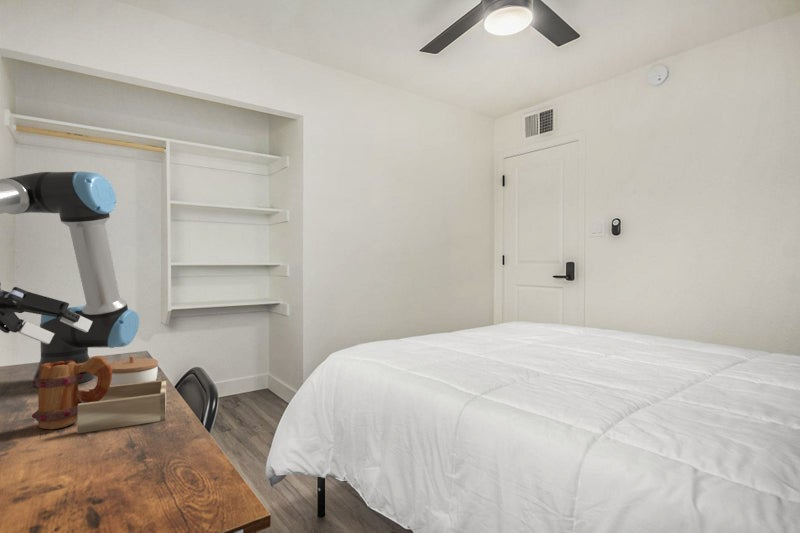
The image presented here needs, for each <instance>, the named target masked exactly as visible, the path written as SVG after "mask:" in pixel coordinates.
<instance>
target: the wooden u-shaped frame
mask: <svg viewBox="0 0 800 533" xmlns="http://www.w3.org/2000/svg"><path fill="white" fill-rule="evenodd" d="M95 387H96V386H95ZM95 387H90V388H89V389H88V391H91V390H93V389H94V388H95ZM166 411H167V379H158V380H157V379H156V381H147V382H138V383H130V384H121V385H112V386H110V387H109V389H108V391H107V392H106V394H105V395H104V396H103V398H102V399H101V400H100V401H97V402H89V403H87V402H81V404H78V420H77V434H83V433H90V432H95V431H96V432H97V431H103V430H109V429H117V428H122V427H128V426H135V425H141V424H142V425H143V424H150V423H156V422H161V421H165V420H166Z"/></svg>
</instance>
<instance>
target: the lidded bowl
mask: <svg viewBox="0 0 800 533" xmlns="http://www.w3.org/2000/svg"><path fill="white" fill-rule="evenodd" d="M109 365H110V367H111V369H112V381H111V384H110V386H112V385H121V384H130V383H138V382H147V381H156V380H157V378H158V372H159V371H158V368H159V367H158V366H159V361H158V359H155V358H146V357H145V358H135V355H130V356H129V359H124V360H118V361H114V362H110V363H109Z"/></svg>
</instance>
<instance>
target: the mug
mask: <svg viewBox="0 0 800 533" xmlns="http://www.w3.org/2000/svg"><path fill="white" fill-rule="evenodd" d="M89 358H90V359H89V360H88V361H86V362H84V363H79V364H76V363H75V362H74V361H66V362H64V361H59V362H54V363H45V364H41V366H40V371H39V377H38V378H36V379H35V380H34V381H33V380H32V382H31V383H32V385H33V384H35V385H36V386H37V387H36V388H38V391H37V392H38V393H37V394H38V405H37V406H38V409H37V410H36V411H35V412H34V413H32V415H31V418H33V419H35V421H37V422H38V427H39V428H40V429H41V428H42V429H45V430H56V429H57V430H59V429H63V428H65V427H68V426H70V425H73V424H74V423H77V422H78V404H81V403H82V401H83V402H84V403H89V402H97V401H100V400H101V399H102V398H103V396H104V395H105V394H106V392H107V391H108V389H109V387H110V384H111V381H112V369H111V367H110V365H109V364H110V363H109V362H108V360H106V359H105V358H104V357H103V356H100V355H95V356H92V357H89ZM80 372H87V373H90V374H92V375H95V376H96V377H97V382H96V385H95V388H94V387H93V388H94V389H93V390H91V391H89V390H88V391H87V390H82V389H79V383H78V381H79V380H81V379H82V378H83V375H82V374H80Z"/></svg>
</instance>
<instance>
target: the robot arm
mask: <svg viewBox="0 0 800 533" xmlns="http://www.w3.org/2000/svg"><path fill="white" fill-rule="evenodd" d="M116 196H117V195H116V192H115V190H114V187H113V185H112V184H111V183H110V181H109V180H108V179H107V178H106V177H105V176H103V175H101V174H99V173H97V172H91V171H90V172H89V171H88V172H87V171H40V172H34V173H29V174H28V173H27V174H22V175H17V176H12V177H5V178H0V215H1V214H9V215H20V214H24V213H26V214H27V213H39V214H40V213H41V214H42V213H43V214H59V218H60V222H61V223H62V224H64V225H65V226H68V228H69V232H70V238H71V241H72V246H73V251H74V254H75V260H76V264H77V268H78V273H79V276H80V283H81V286H82V289H83V294H84V299H85V303H86V304H85V305H79V306H72V307H69V306H70V303H69V302H67V301H63V300H59V299H56V298H53V297H48V296H44V295H43V294H39V293H34V292H30V291H27V290H25V289H24V288H20V287H18V286H14V287H13V288H12V290H10V292H9V291H6V290H3V289H1V285H2V284H1V282H0V331H1V332H3V333H5V334H9V333H10V332H11V333H18V334H20V335H23V336H26V337H28V338H30V339H33V340H36V341H39V342H40V359H39V362H38V365H37V367H36V370H35V373H34V375H33V377H32V378H33V379H32V382H33V381H34V380H35V379H36V378H38V377H39V371H40V366H41V364H45V363H54V362H59V361H64V362H66V361H74V362H75V363H76V364H79V363H84V362H86V361H88V360H89V359H90V358H91V357H90V356H89V348H91V349H92V348H98V349H99V348H102V349H103V348H104V349H105V348H110V349H114V348H122V347H126V346H128V345H130V344H131V343H132V342H133V341H134V339H135V338H136V336H137V333H138V331H139V328H140V327H139V326H140V317H139V315H138V314H139V313H138V312H137V311H135V310H133V309H129V308H128V303H127V301H126V300H125V299H123V298H121V297H120V293H119V292H120V291H119V285H118V282H117V276H116V272H115V266H114V262H113V257H112V251H111V246H110V241H109V237H108V233H107V226H106V224H107V221H108V220H109V219H110V218H111V216H110V213H112V212H113V211H114V210H115V208H116V203H117V197H116ZM16 313H18V314H22V313H29V314H36V315H40V322H39V326H37V325H35V324H33V323H31V322H28V321H25V319H22V318H21V319H20V318H19V316H17V314H16ZM80 374H82V375H83V378H82V379H81V380H79V381H78V384H81V383H85V382H87V381H91V380H93V379H94V378H95V375H92V374H90V373H87V372H80ZM32 385H33V387H36V388H38V387H37V386H36V385H35V384H33V383H32Z"/></svg>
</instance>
